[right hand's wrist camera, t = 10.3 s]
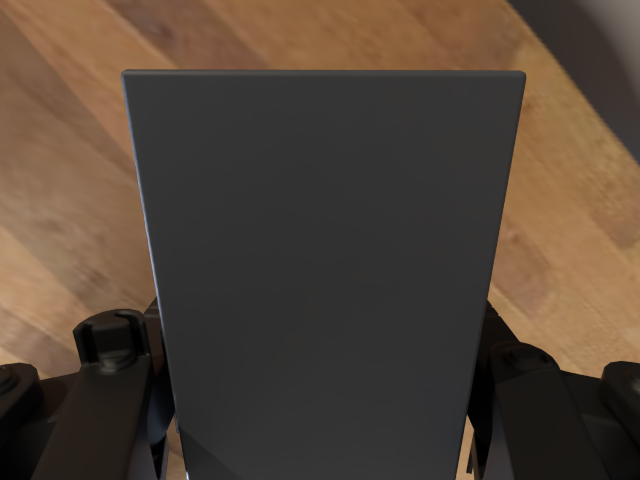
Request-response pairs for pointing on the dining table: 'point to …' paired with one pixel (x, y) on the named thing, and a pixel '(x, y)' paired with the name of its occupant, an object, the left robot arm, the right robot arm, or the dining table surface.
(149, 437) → the right robot arm
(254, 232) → the bar
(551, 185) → the dining table surface
